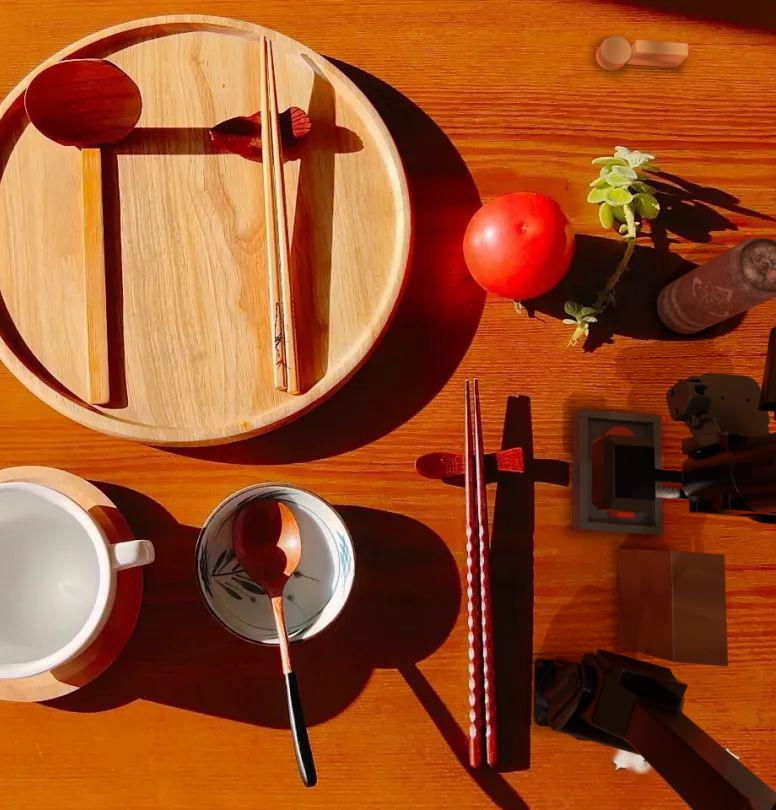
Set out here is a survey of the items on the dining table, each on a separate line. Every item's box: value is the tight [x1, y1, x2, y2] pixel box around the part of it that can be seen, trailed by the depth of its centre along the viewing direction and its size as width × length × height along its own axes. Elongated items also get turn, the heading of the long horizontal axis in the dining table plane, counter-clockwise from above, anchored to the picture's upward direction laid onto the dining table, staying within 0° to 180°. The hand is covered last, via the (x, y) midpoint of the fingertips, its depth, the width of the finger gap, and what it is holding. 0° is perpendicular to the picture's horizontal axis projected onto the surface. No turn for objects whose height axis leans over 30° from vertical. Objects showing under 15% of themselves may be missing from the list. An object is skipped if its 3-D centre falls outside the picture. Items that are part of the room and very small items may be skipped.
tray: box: [571, 409, 664, 536], centre depth 81 cm, size 13×9×2 cm
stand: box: [617, 548, 729, 667], centre depth 75 cm, size 10×5×10 cm, turn 176°
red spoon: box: [600, 427, 635, 519], centre depth 81 cm, size 10×4×2 cm, turn 176°
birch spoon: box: [595, 35, 689, 72], centre depth 90 cm, size 10×4×2 cm, turn 86°
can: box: [656, 237, 776, 335], centre depth 79 cm, size 6×6×14 cm
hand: (654, 488), depth 72 cm, fingers open, 9 cm apart
